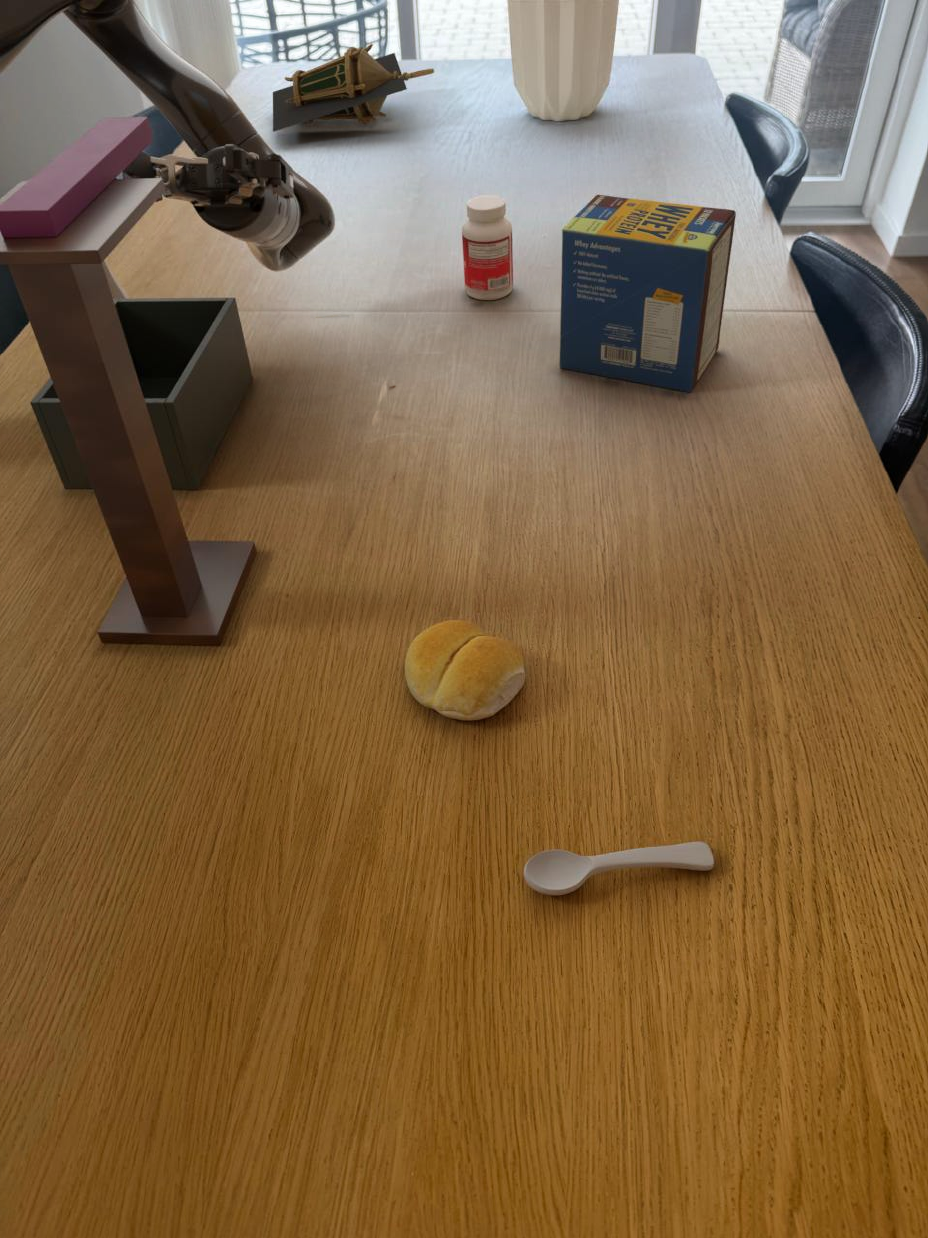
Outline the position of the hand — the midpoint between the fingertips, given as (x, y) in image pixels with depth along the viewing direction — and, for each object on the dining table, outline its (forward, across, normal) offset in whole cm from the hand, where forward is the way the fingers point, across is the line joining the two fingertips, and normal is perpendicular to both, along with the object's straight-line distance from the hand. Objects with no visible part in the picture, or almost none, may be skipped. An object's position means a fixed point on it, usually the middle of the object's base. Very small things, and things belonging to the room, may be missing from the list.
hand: (178, 158), depth 79 cm
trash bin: (-17, -10, +22) cm, 30 cm away
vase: (-111, +30, -32) cm, 119 cm away
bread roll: (+13, +25, +40) cm, 49 cm away
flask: (-39, -25, +10) cm, 48 cm away
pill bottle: (-46, +22, +6) cm, 51 cm away
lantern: (-109, -8, -30) cm, 114 cm away
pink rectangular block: (+17, 0, +5) cm, 18 cm away
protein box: (-30, +40, +15) cm, 53 cm away
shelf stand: (+5, 0, +36) cm, 36 cm away
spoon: (+27, +36, +48) cm, 66 cm away
